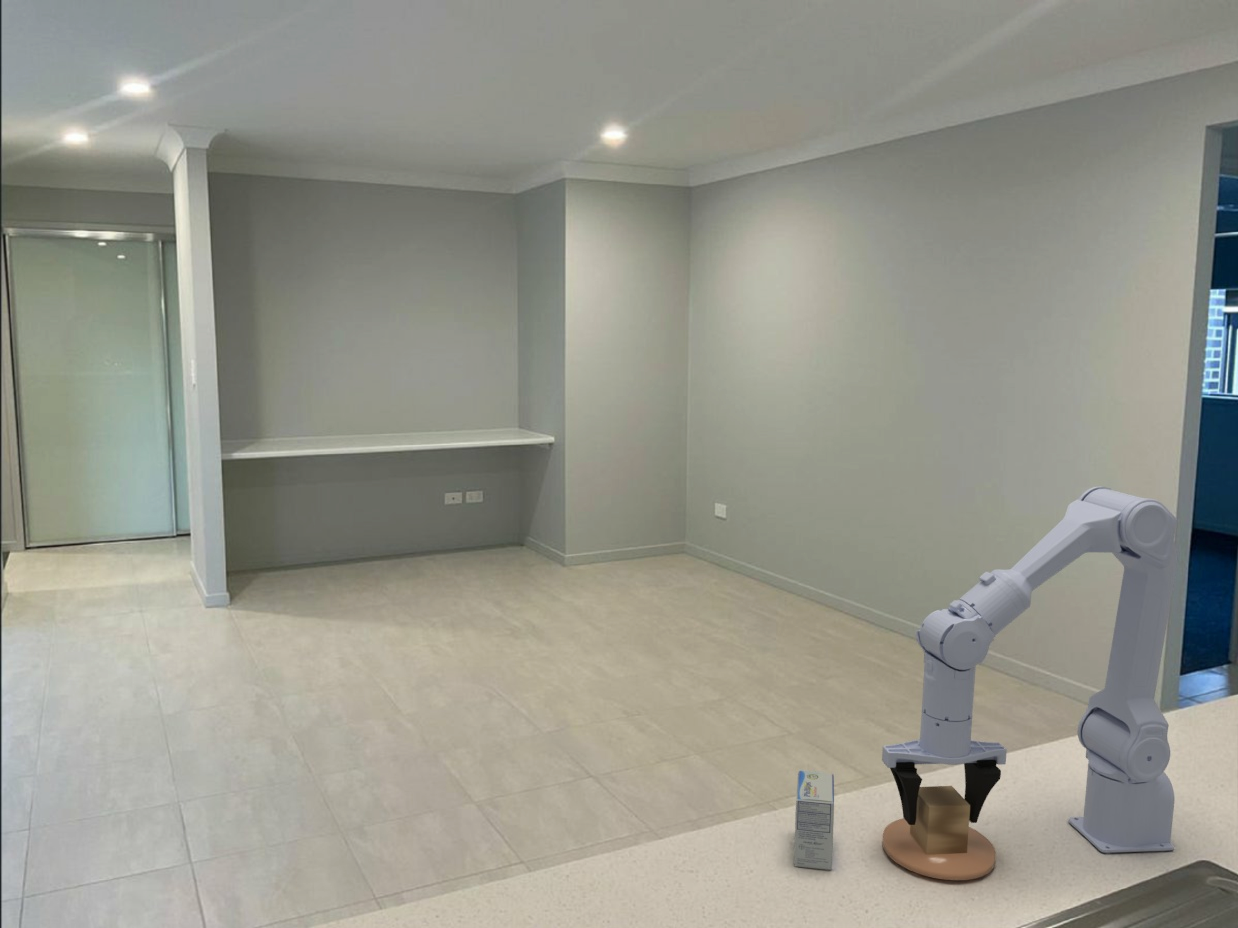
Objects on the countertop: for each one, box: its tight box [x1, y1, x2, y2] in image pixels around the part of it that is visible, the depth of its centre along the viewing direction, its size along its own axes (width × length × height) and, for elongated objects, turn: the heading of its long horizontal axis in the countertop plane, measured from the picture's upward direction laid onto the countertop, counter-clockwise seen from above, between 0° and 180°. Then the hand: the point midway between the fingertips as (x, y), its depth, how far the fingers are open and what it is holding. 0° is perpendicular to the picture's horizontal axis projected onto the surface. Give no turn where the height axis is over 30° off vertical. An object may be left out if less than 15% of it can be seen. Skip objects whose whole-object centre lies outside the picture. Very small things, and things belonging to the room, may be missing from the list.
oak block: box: [910, 785, 970, 855], centre depth 120 cm, size 5×5×6 cm
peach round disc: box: [881, 817, 997, 881], centre depth 120 cm, size 13×13×1 cm
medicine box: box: [794, 770, 835, 871], centre depth 120 cm, size 8×4×9 cm, turn 168°
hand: (939, 819), depth 120 cm, fingers open, 7 cm apart
